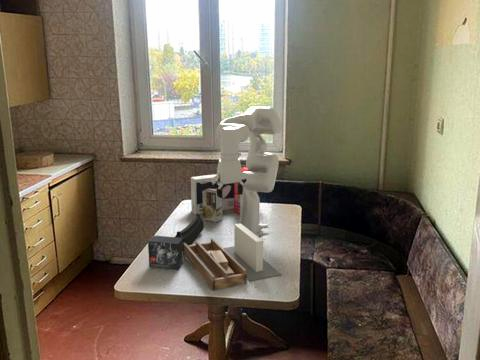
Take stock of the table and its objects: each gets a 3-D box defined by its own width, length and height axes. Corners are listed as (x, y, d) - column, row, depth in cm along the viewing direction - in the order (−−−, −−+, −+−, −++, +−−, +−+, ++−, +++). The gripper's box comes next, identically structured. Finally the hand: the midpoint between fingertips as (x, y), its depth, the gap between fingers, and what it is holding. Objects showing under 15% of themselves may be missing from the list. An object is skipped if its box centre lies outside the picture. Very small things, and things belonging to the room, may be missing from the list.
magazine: (177, 239, 204) (200, 201, 228) (170, 238, 205) (194, 200, 229) (183, 269, 213) (204, 229, 237) (176, 268, 213) (198, 228, 238)
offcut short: (220, 255, 204) (220, 250, 203) (228, 266, 192) (228, 261, 192) (210, 256, 202) (210, 251, 202) (217, 268, 191) (217, 262, 191)
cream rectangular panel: (240, 250, 214) (240, 223, 210) (262, 270, 194) (263, 240, 191) (234, 251, 212) (234, 224, 209) (256, 271, 193) (256, 241, 190)
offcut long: (215, 256, 210) (215, 249, 209) (234, 279, 188) (234, 272, 188) (205, 257, 209) (205, 251, 208) (223, 281, 187) (223, 274, 186)
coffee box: (223, 219, 256) (223, 190, 252) (216, 222, 251) (216, 193, 247) (209, 216, 261) (209, 187, 257) (202, 219, 256) (202, 190, 252)
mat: (245, 245, 221) (245, 244, 221) (281, 275, 191) (281, 274, 191) (217, 249, 216) (217, 249, 215) (250, 281, 186) (250, 280, 185)
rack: (213, 249, 216) (212, 238, 214) (246, 283, 184) (246, 270, 182) (183, 254, 210) (183, 243, 209) (212, 290, 178) (212, 277, 177)
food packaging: (241, 215, 262) (241, 171, 256) (234, 213, 265) (234, 169, 259) (257, 209, 273) (258, 166, 267) (250, 207, 276) (250, 165, 270)
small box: (148, 268, 197) (147, 241, 194) (154, 261, 203) (152, 235, 200) (179, 270, 195) (178, 243, 192) (183, 263, 201) (183, 237, 198)
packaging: (195, 214, 263) (194, 179, 258) (191, 211, 269) (190, 177, 264) (244, 206, 277) (244, 173, 272) (239, 204, 282) (239, 171, 277)
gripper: (243, 152, 207) (243, 190, 211) (207, 157, 199) (208, 196, 204) (252, 156, 200) (251, 195, 205) (214, 160, 193) (215, 201, 197)
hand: (230, 195), depth 204 cm, fingers open, 9 cm apart
